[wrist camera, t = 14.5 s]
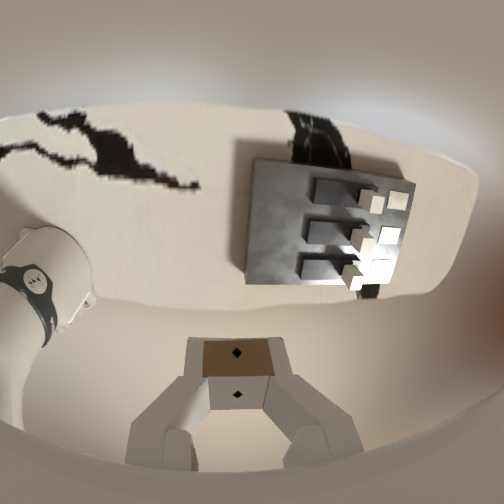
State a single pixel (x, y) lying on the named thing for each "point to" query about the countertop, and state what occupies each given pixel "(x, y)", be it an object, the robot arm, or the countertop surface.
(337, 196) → the breaker panel
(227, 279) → the countertop surface
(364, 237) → the block
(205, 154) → the countertop surface
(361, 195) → the block
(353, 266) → the white short rectangular block
